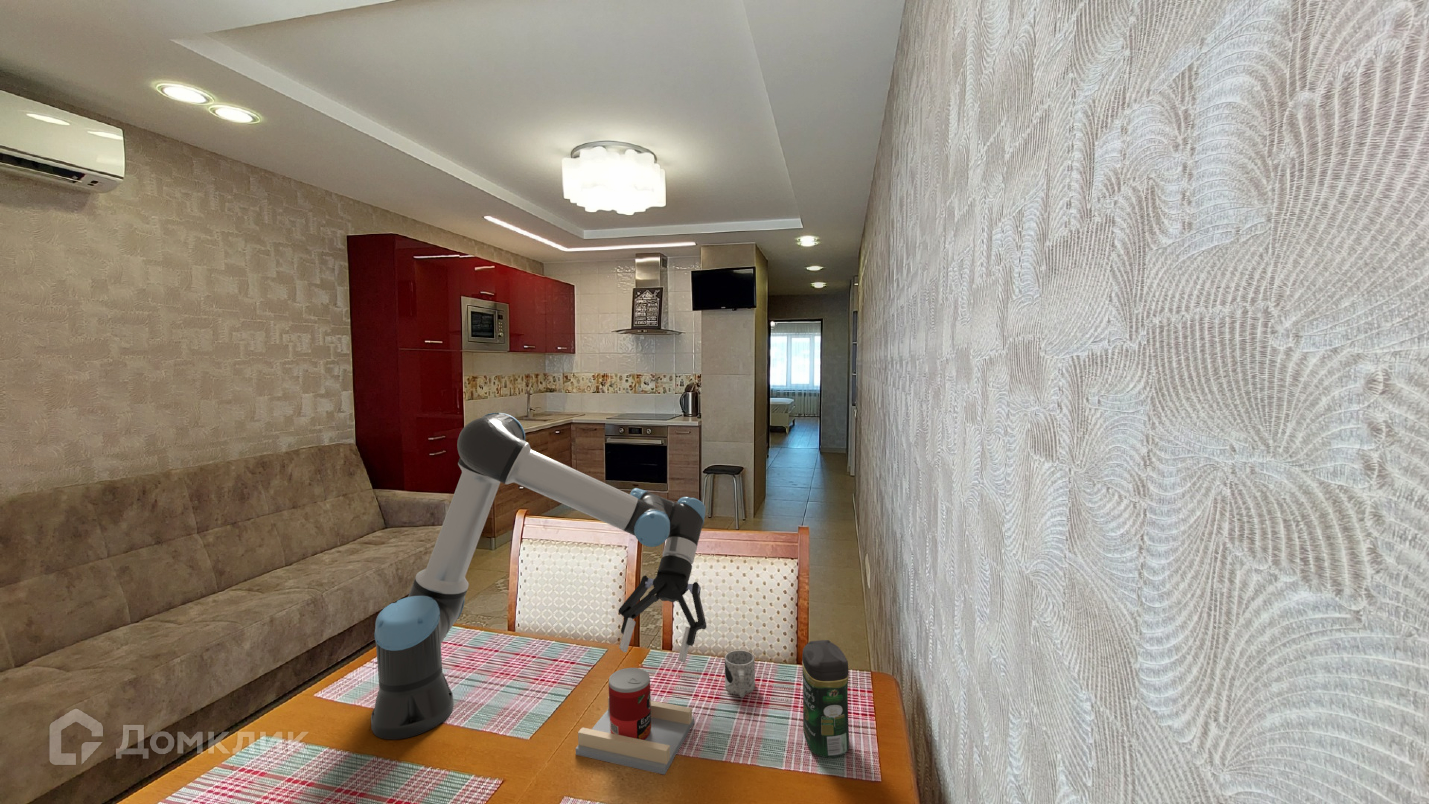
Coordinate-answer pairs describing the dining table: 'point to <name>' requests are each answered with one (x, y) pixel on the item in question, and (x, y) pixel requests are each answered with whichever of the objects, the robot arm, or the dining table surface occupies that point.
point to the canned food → (630, 703)
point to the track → (641, 754)
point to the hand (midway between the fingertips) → (651, 655)
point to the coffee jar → (825, 698)
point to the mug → (739, 672)
